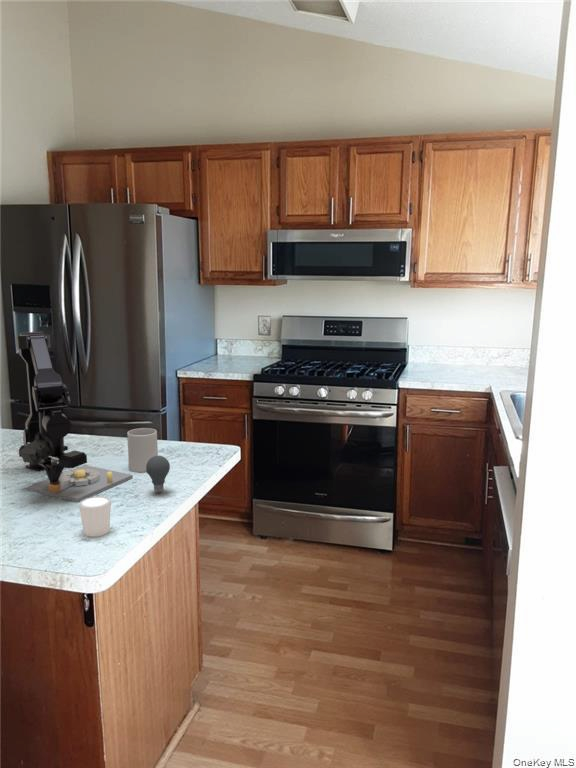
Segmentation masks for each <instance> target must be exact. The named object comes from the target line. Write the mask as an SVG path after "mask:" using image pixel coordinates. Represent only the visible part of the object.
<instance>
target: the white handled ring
mask: <svg viewBox="0 0 576 768" xmlns="http://www.w3.org/2000/svg"><path fill="white" fill-rule="evenodd" d="M71 470H72V472H71V471H70V470H68V471H69V472H68V471H65V472H66V473H65V472H63V473H64V474H62V473H61V474H62V475H61V476H60V480H57V481H55V482H52V483H49V484H48V489H49V492H52V493H58V492H60V491H62V490H64V489H66V488H68V487H70V486H74V485H75V486H82V485H88V483H89V484H92V483H94V482H96V481H98V480H99V479H100V474H99V471H97V470H91V469H86V470H85V476H86V477H85V478H79V479H75V476H74V471H75V470H73V469H71ZM83 470H84V469H83Z"/></svg>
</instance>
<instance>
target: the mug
mask: <svg viewBox="0 0 576 768" xmlns="http://www.w3.org/2000/svg"><path fill="white" fill-rule="evenodd" d="M126 435H127V437H126V438H127V456H128V457H127V459H128V469H129V471H130V472H133V473H147V471H146V465H147V462H148V460H149V459H150V458H152V457H154V456H159V449H158V431H157V429H155V428H151V427H150V428H149V427H140V428H134V429H130V430H128V431H127V434H126Z"/></svg>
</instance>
